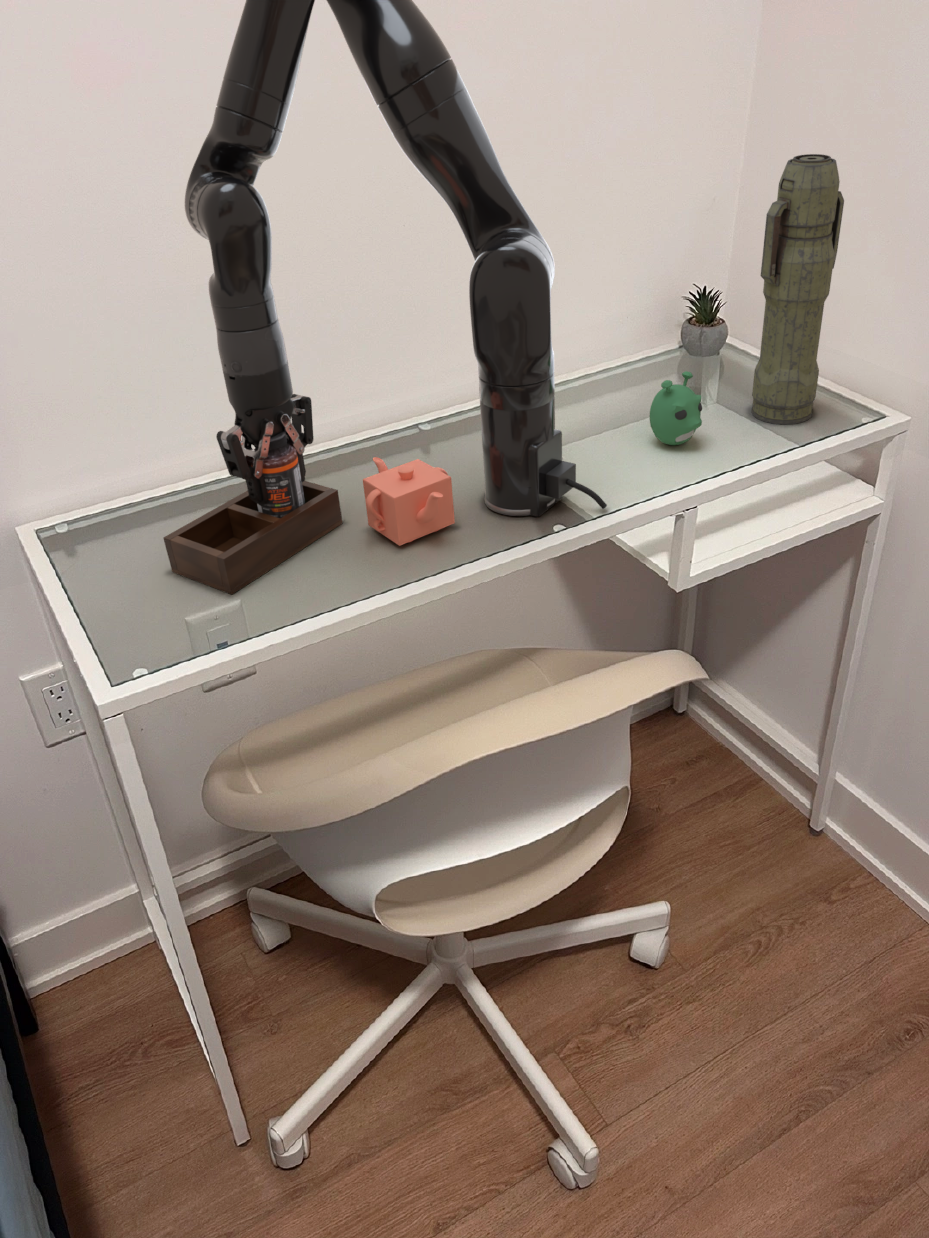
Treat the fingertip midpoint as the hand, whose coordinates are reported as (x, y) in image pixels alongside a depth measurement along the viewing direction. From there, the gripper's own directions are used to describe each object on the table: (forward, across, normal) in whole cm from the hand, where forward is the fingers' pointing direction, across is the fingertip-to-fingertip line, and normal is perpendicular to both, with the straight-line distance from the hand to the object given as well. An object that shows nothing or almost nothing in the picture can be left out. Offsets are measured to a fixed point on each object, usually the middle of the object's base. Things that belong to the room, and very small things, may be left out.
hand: (279, 491), depth 125 cm
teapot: (+6, -8, +14) cm, 17 cm away
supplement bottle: (+4, 0, 0) cm, 4 cm away
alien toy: (+6, -46, +32) cm, 57 cm away
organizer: (+6, +5, 0) cm, 7 cm away
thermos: (+6, -63, +41) cm, 76 cm away
